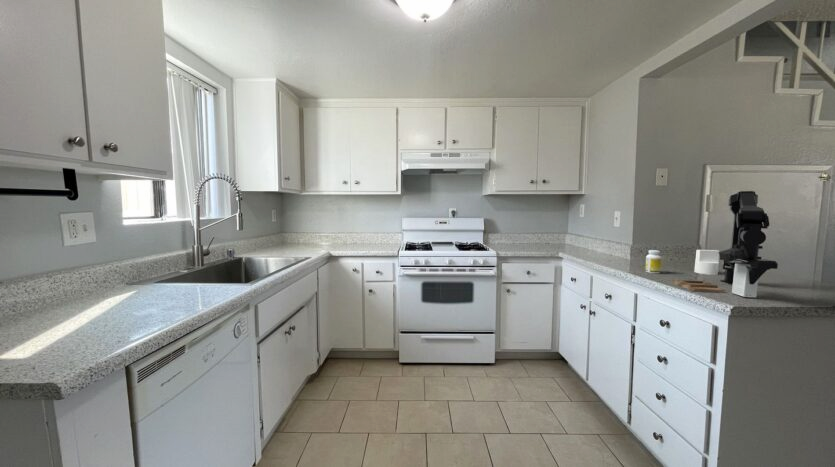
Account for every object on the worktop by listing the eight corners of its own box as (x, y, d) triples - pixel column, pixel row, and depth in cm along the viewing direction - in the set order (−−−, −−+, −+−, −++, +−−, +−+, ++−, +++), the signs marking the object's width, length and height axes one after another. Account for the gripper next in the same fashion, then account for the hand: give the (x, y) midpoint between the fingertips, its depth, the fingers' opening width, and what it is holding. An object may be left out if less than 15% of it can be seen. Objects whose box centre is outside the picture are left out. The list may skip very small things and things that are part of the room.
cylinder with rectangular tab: (701, 274, 160) (703, 251, 159) (690, 270, 168) (692, 248, 167) (722, 275, 158) (724, 251, 156) (710, 271, 166) (712, 249, 165)
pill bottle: (663, 273, 161) (665, 251, 159) (651, 273, 161) (652, 251, 160) (654, 271, 167) (655, 249, 166) (642, 271, 167) (643, 249, 166)
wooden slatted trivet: (672, 283, 142) (672, 278, 142) (699, 284, 140) (700, 279, 140) (693, 291, 128) (694, 286, 128) (724, 292, 126) (725, 287, 126)
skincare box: (756, 297, 118) (760, 267, 117) (743, 297, 119) (747, 266, 118) (743, 293, 124) (746, 263, 123) (731, 292, 125) (734, 263, 124)
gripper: (706, 239, 130) (703, 275, 132) (744, 245, 112) (740, 287, 113) (737, 239, 128) (734, 276, 130) (781, 246, 110) (776, 289, 111)
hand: (744, 282), depth 121 cm, fingers closed on skincare box, 6 cm apart
